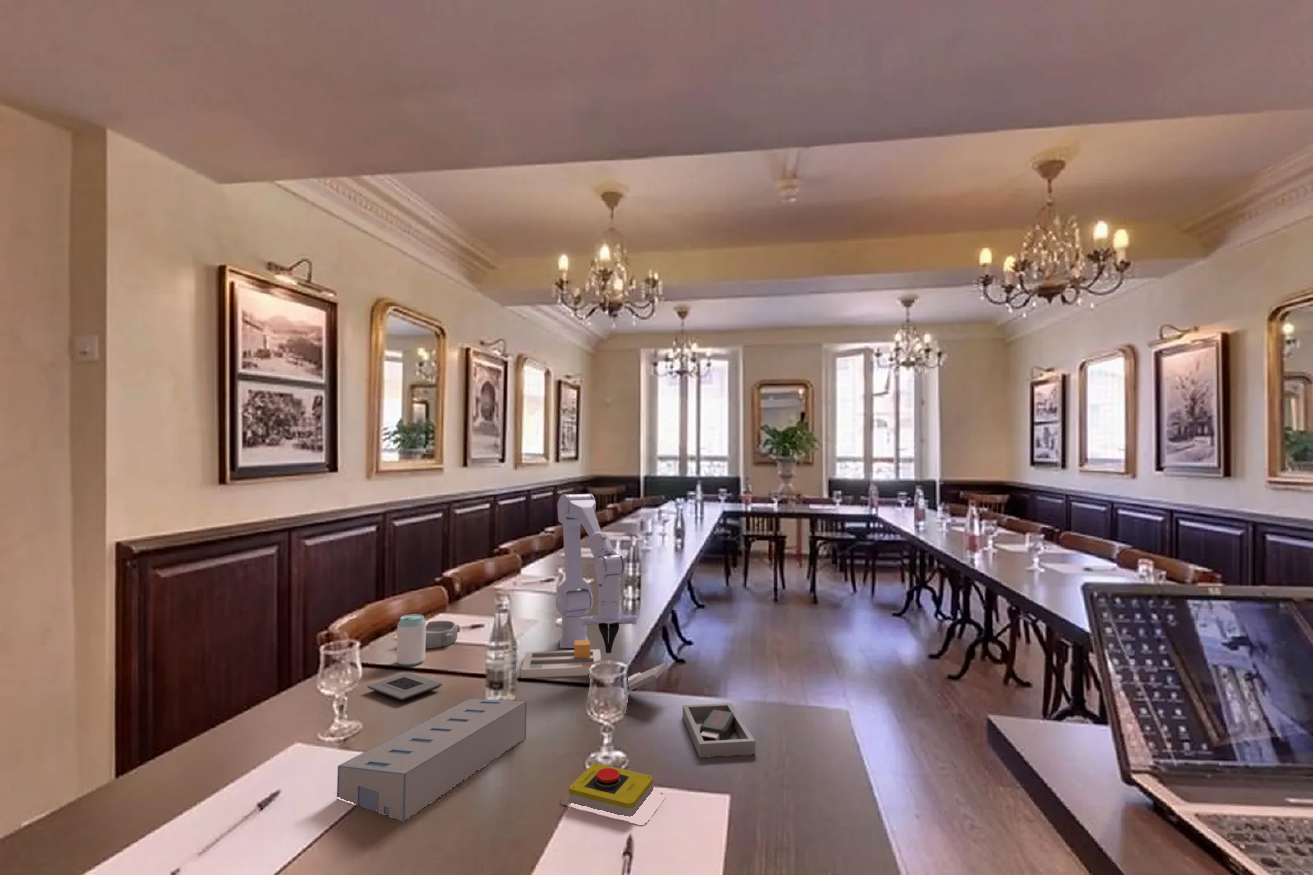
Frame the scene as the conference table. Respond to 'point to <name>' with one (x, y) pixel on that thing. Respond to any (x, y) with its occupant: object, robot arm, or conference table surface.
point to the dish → (441, 633)
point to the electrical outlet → (404, 686)
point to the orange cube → (582, 649)
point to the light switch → (645, 676)
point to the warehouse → (431, 757)
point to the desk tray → (719, 746)
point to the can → (411, 639)
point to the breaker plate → (557, 663)
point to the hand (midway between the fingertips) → (608, 652)
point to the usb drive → (717, 725)
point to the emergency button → (611, 789)
